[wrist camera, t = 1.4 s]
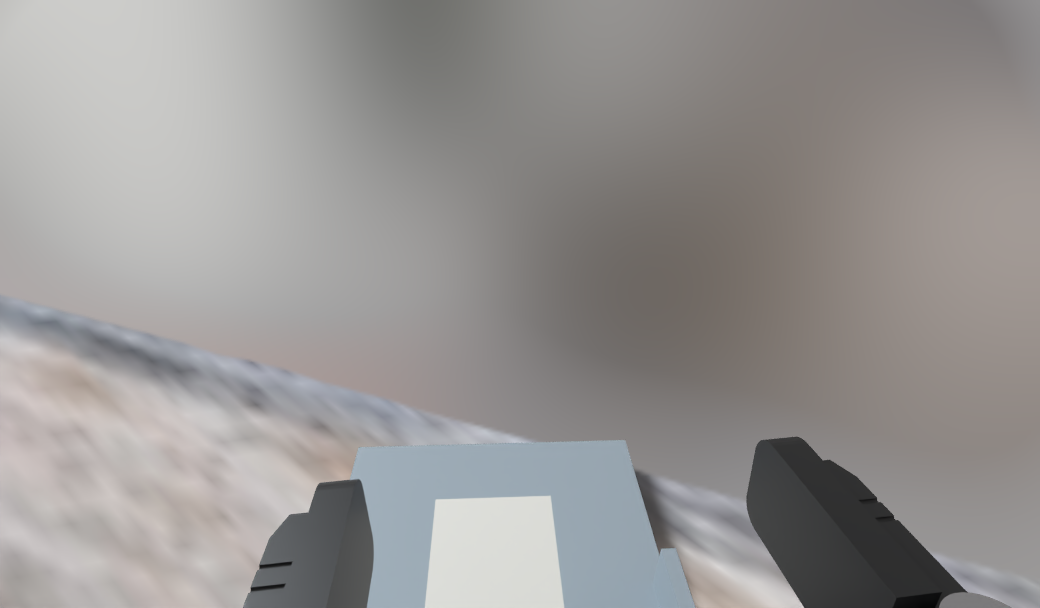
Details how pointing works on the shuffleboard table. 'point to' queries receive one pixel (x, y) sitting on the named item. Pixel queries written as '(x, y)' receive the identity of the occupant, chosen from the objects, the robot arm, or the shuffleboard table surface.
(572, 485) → the trough
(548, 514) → the cream block
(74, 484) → the shuffleboard table surface
